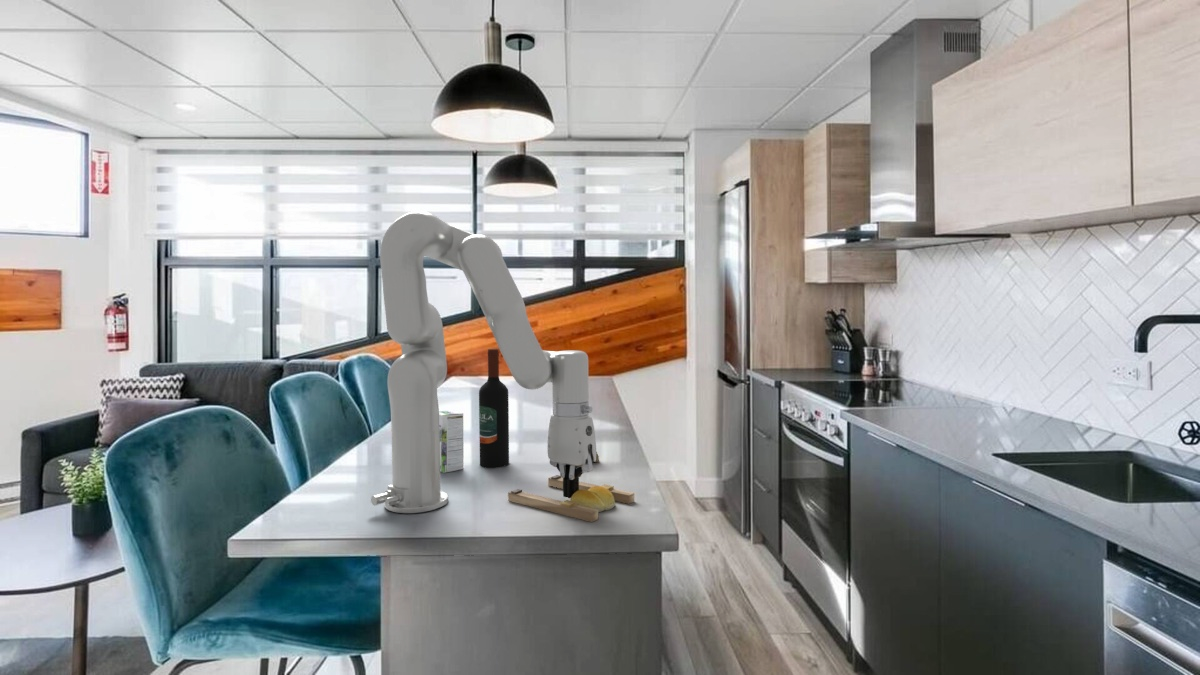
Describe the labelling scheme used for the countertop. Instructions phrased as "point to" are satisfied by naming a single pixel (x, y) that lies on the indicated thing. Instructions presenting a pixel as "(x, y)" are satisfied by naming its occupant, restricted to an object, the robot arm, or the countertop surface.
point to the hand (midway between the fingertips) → (570, 495)
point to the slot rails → (567, 506)
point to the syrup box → (451, 441)
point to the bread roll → (594, 498)
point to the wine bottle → (493, 417)
